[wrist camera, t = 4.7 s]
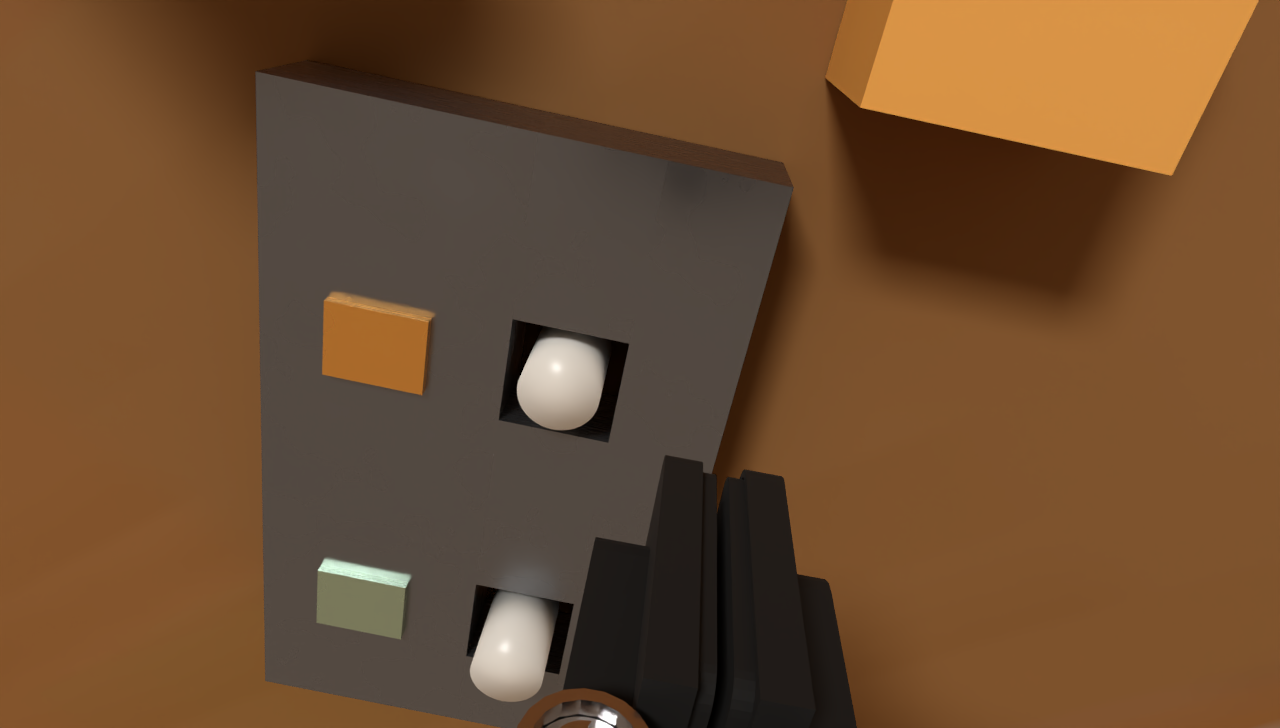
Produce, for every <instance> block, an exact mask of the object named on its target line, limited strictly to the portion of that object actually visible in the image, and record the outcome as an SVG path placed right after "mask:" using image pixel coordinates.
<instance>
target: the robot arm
mask: <svg viewBox="0 0 1280 728" xmlns="http://www.w3.org/2000/svg"><path fill="white" fill-rule="evenodd" d="M517 728H857V726H856V721H855V716H854V710H853V705H852V700H851V694H850V689H849V684H848V678H847V673H846V668H845V663H844V657H843V652H842V647H841V641H840V636H839V631H838V625H837V620H836V615H835V610H834V604H833V599H832V594H831V590H830V586H829V583H828V582H827V581H826V580H825V579H820V578H815V577H809V576H804V575H798V574H797V571H796V564H795V556H794V549H793V542H792V534H791V527H790V520H789V512H788V505H787V498H786V491H785V483H784V479H783V477H782V476H777V475H771V474H766V473H761V472H755V471H750V470H743V472H742V474H741V477H740V479H737V478H731V477H727V479H726V481H725V485H724V488H723V492H722V496H721V500H720V504H719V508H718V512H717V478H716V475H715V474H710V473H704V472H703V462H701V461H696V460H690V459H685V458H680V457H674V456H669V455H665V457H664V460H663V465H662V469H661V474H660V479H659V484H658V488H657V493H656V498H655V503H654V507H653V512H652V517H651V522H650V526H649V531H648V536H647V541H646V545H645V546H642V545H637V544H632V543H626V542H621V541H615V540H610V539H605V538H599V537H596V538H595V541H594V546H593V551H592V555H591V560H590V565H589V569H588V574H587V579H586V583H585V588H584V593H583V598H582V602H581V607H580V612H579V616H578V621H577V626H576V630H575V635H574V640H573V645H572V649H571V654H570V659H569V663H568V668H567V673H566V677H565V682H564V687H563V690H562V691H559V692H556V693H554V694H551V695H548V696H545V697H544V698H542V699H541V700H540V701H538V702H537V703H536V704H534V705H533V706H532V707H530V708H529V709H528V711H527V712H526V714H525V715H524V717H523V718H522V720H521V721H520V723H519V724H518V726H517Z"/></svg>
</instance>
